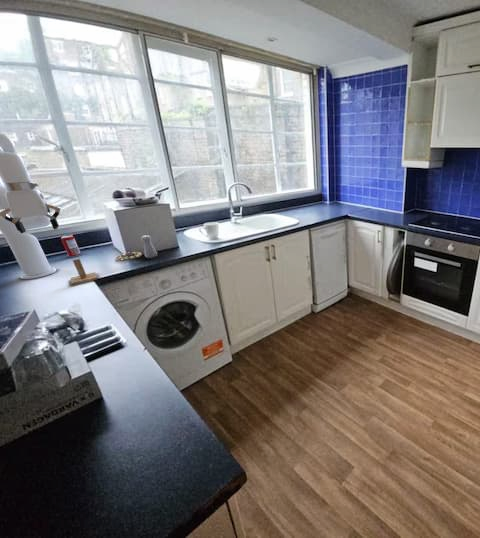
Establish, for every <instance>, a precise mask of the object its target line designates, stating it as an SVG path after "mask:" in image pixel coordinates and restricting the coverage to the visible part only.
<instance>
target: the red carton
mask: <svg viewBox="0 0 480 538" xmlns="http://www.w3.org/2000/svg"><path fill="white" fill-rule="evenodd" d="M60 238H61V239H60V240H61V243H62V244H63V247H64V250H65V251H66V254H67V256H68V257H69V258H75V257H79V256H81V255H82V253H81V250H80V248H79V246H78V245H79V244H78V243H77V240H76V239H75V236H74V235H72V234H70V235H69V234H68V235H63V236H61V237H60Z"/></svg>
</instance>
